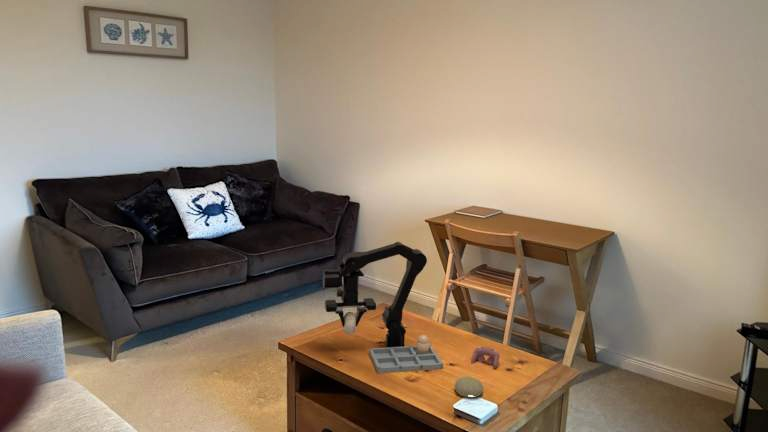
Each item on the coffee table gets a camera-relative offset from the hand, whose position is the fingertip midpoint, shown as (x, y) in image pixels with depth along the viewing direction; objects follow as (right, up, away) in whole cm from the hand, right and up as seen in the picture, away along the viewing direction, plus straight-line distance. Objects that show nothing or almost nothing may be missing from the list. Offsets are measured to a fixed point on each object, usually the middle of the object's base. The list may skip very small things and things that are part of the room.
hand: (349, 326), depth 223 cm
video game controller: (+50, -13, -6) cm, 52 cm away
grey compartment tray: (+21, -12, -7) cm, 25 cm away
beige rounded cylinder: (+27, -10, -2) cm, 29 cm away
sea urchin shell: (+41, -17, -27) cm, 52 cm away
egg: (0, -2, 0) cm, 2 cm away
